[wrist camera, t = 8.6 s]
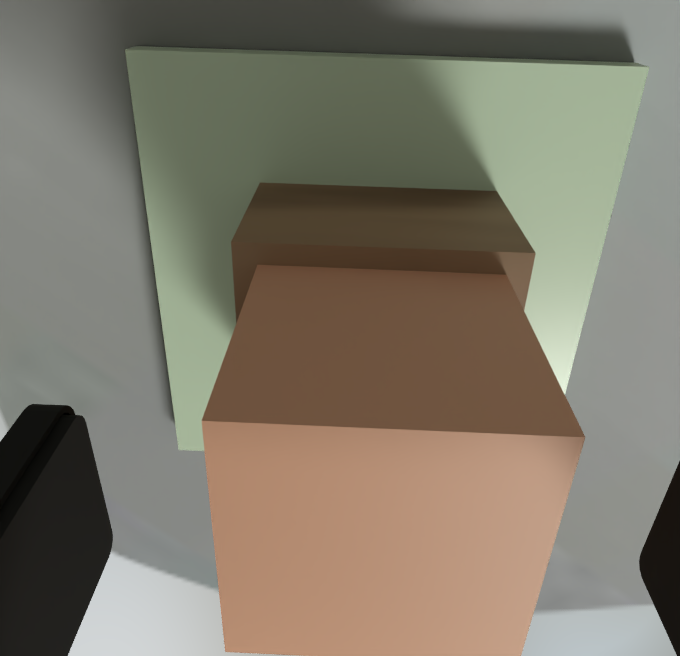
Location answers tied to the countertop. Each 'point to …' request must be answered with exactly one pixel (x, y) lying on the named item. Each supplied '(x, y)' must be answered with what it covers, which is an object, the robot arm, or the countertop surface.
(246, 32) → the countertop surface
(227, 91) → the plate
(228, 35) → the countertop surface
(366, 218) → the base block
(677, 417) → the countertop surface
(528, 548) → the cube
